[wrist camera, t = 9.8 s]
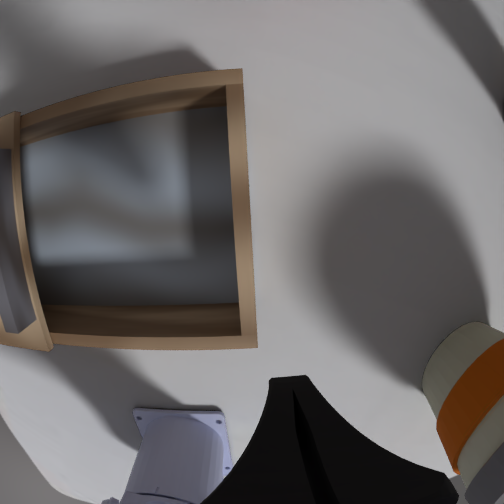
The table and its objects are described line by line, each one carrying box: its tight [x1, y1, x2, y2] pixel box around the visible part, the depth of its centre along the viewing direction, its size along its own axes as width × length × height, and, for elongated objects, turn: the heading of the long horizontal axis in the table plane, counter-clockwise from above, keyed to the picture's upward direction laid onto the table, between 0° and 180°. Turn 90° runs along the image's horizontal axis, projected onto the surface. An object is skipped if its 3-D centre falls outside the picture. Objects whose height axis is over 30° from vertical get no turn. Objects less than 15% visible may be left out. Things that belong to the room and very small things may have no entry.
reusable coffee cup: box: [422, 322, 504, 504], centre depth 15 cm, size 13×13×15 cm
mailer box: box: [20, 69, 258, 350], centre depth 17 cm, size 14×20×5 cm
